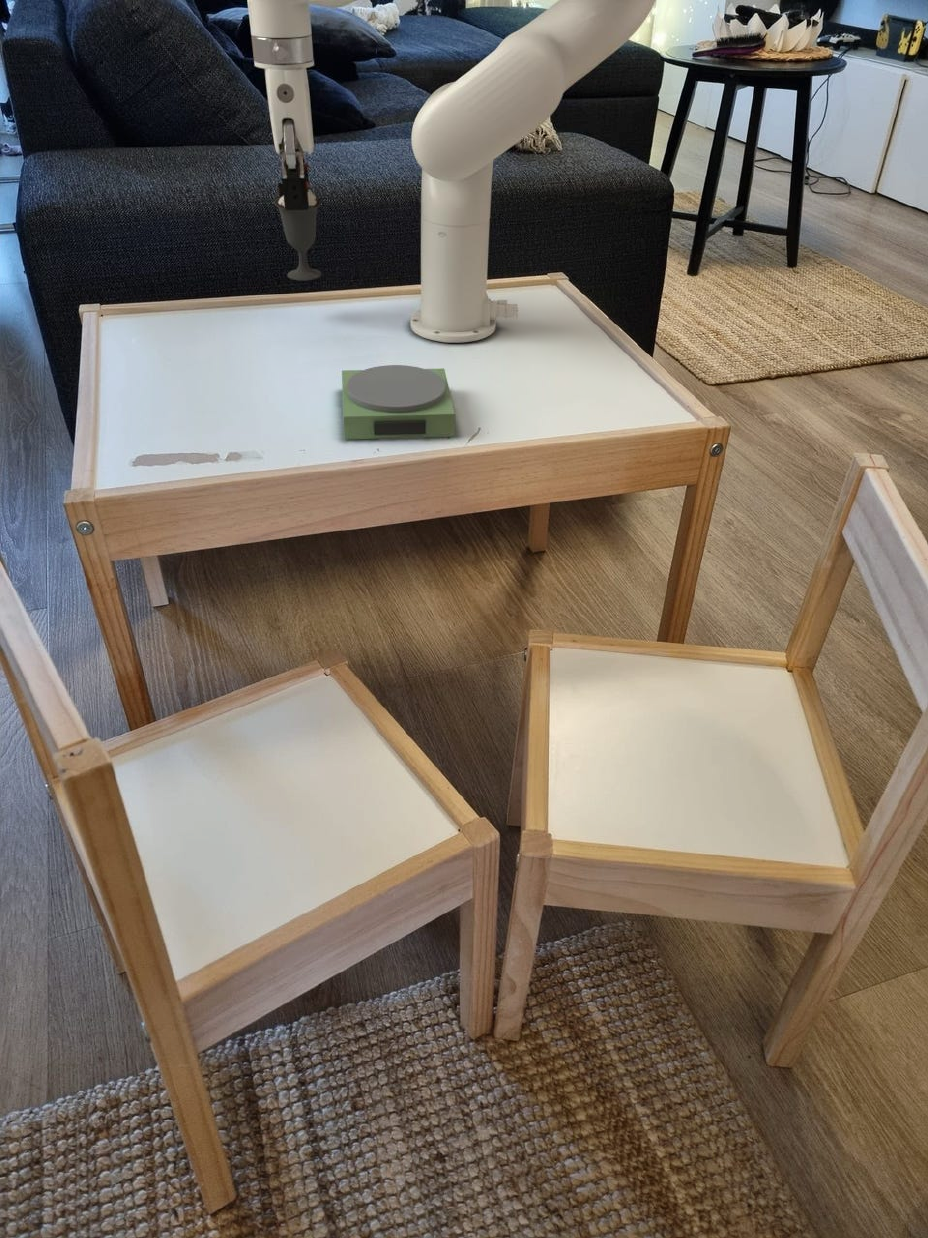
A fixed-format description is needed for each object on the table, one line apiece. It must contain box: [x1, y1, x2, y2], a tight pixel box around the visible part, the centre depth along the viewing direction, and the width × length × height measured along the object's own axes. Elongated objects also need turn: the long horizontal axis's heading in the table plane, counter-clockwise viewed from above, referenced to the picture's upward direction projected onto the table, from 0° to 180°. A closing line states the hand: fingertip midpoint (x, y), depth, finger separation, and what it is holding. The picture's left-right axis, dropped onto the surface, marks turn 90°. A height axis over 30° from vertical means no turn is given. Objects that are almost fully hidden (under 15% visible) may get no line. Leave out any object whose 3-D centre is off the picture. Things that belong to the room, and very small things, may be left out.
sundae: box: [272, 163, 322, 282], centre depth 129 cm, size 7×7×15 cm
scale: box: [341, 364, 456, 441], centre depth 112 cm, size 13×14×4 cm
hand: (297, 200), depth 128 cm, fingers closed on sundae, 6 cm apart
